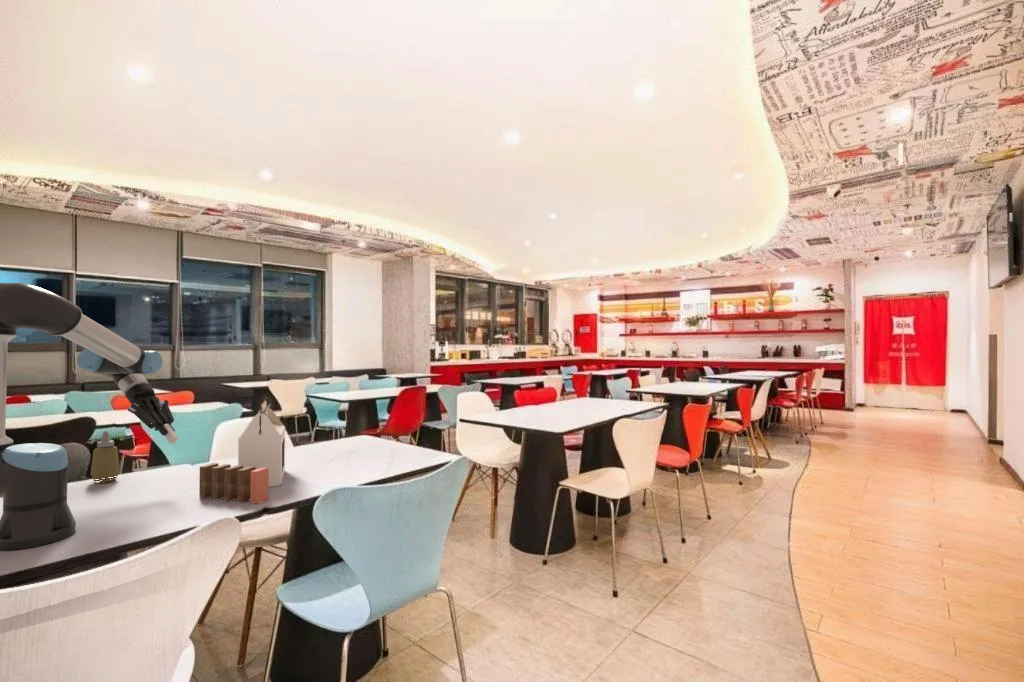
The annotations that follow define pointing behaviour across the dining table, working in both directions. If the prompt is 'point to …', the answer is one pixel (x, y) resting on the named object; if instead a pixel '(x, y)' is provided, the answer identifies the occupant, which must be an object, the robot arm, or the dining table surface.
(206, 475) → the domino
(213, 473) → the domino
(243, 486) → the domino
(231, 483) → the domino
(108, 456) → the squeeze bottle
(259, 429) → the gable box
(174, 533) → the dining table surface
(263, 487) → the domino
